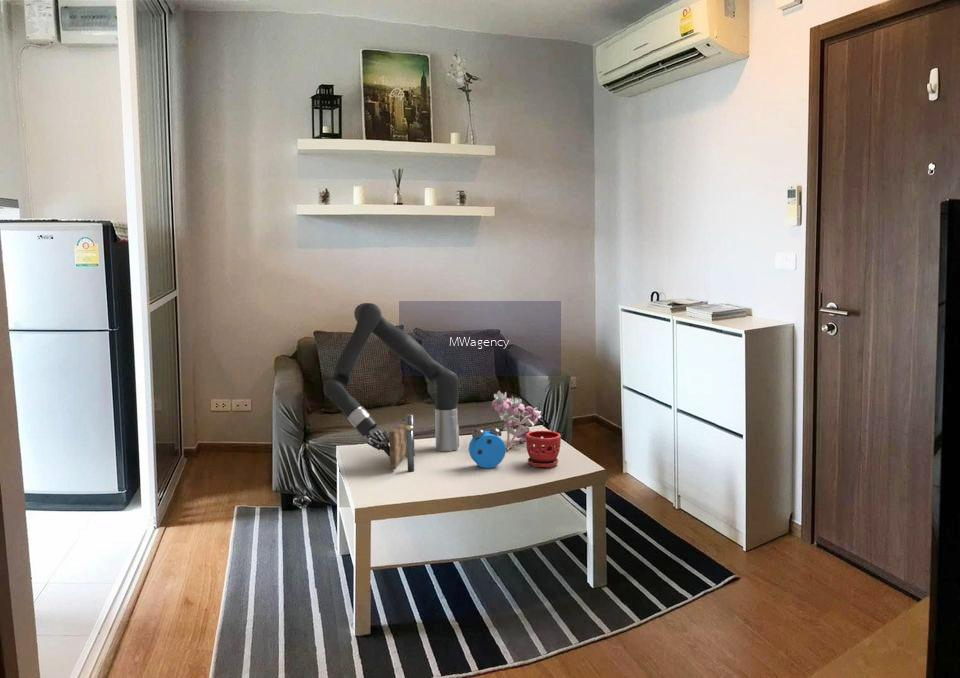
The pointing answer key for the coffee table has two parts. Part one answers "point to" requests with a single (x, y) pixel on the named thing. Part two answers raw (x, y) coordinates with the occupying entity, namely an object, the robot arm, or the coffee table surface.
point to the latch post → (410, 448)
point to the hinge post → (411, 422)
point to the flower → (504, 407)
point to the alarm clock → (487, 447)
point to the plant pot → (543, 448)
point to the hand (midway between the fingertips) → (392, 454)
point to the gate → (398, 444)
